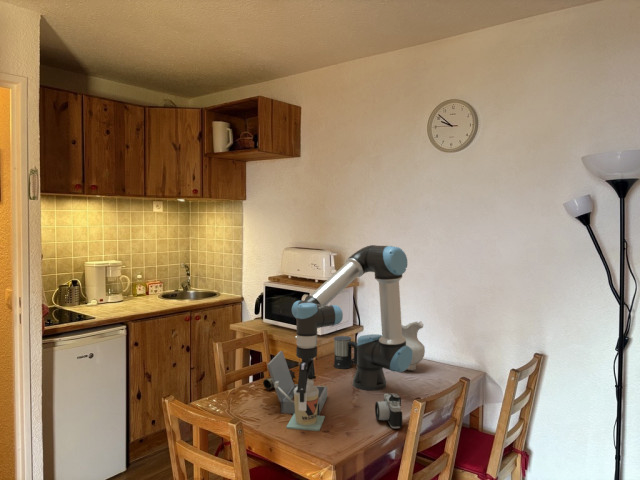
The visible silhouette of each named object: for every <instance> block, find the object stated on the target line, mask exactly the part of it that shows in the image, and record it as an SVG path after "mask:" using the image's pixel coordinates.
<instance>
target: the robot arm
mask: <svg viewBox="0 0 640 480" xmlns="http://www.w3.org/2000/svg"><path fill="white" fill-rule="evenodd" d="M407 257H408V256H407V255H406V253H405V251H404V250H403V249H402V248H400V247H398V246H393V245H375V244H374V245H373V244H372V245H371V244H370V245H367V246H365V247H362V248H360V249H359V250H357V251H355V252H354V253H352V254H351V255H350V256H349V257H348V258H347V259H346V260H345V263H344V264H343V265H342V266H341V267H340V268H339V269H338V270H336V272H334V273H333V274H332V275H331V276H330V277H329V278H327V280H325V282H323V283H322V284H321V285H320V286H319V287H318V288H316V290H314V291H313V292H312V293H311V294H310V295H309V296H307V297H306V298H305V299H304V300H296V301H295V302H293V304H292V307H291V313H292V316H293V317H294V318H295V319H296V336H295V337H294V338H295V339H296V345H297V346H296V347H295V348H296V350H295V351H296V357H297V358H298V359H301V362H300V363H299V365H298V367H299V368H298V379H297V385H298V389H297V390H296V393H299V410H300V411H306V403H307V392H306V386H307V385H312V386H315V385H314V384H315V380H316V379H317V376H316V372H315V363H314V362H315V360H314V358H316V357H318V354H317V353H318V346H317V345H318V329H319V328H326V327H330V326H331V327H332V326H335V325H336V326H337V325H339V324H341V322H342V320H343V315H344V314H343V310H342V308H341V307H340V306H339V305H337V304H334V305H333V304H330V305H328V304H329V303H330V302H332V301H333V299H335V298H336V297H337V296H338V295H339V294H340V293H341V292H342V291H344V290H345V289H346V288H347V287H348V286H349V285H350V284H351V283H352V282H353V281H355V279H356V278H361V277H362V276H363V275H364V274H367V273H374V279H375V280H376V281H377V282H378V292H379V307H380V321H381V322H380V323H381V334H377V333H376V334H374V333H373V334H364V335H360V336H359V337H358V338H357V342H356V343H357V364H356V370H355V373H354V376H353V379H352V386H353V387H354V388H356V389H358V390H361V391H367V392H368V391H369V392H370V391H371V392H374V391H375V392H377V391H380V390H385V389H386V388H387V380H386V376H385V373H384V371H383V369H385V370H389V371H391V372H396V373H403V372H405V371H407V370H406V369H407V368H408V367H409V365H410V363H411V361H412V356H413V353H412V349H411V348H410V347H409V346H406V338H405V337H404V336H402V325H403V324H402V310H401V309H402V307H401V297H400V296H401V292H400V281H401V279H403V274H405V273H406V271H407V268H408V258H407Z"/></svg>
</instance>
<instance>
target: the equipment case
mask: <svg viewBox="0 0 640 480" xmlns="http://www.w3.org/2000/svg"><path fill="white" fill-rule="evenodd" d="M266 366H267V370H268V372H269V375H270V378H272V381H273V384H274V387H273V388H274V390H275V394H277V399H278V401H279V403H280V413H281V414H289V415H291V414H292V415H293V414H295V404H294V399H293V398H294V389H295V387H297V386H298V383H297V384H294V383H295V382H294V381H293V380H294V379H293V380H292V377H291V374H290V372H289V370H290V369H289V367H288V363H287V360H286V357H285V354H284V352H283V350H280V351H278V353H277V354H276V355H275V356H274V357H273V358H271V360H270V361H269V362H268V363H267V364H266ZM315 386H316V387H317V388H318V390H319V393H318V409H317V415H319V416H320V414H321V412H322V409H323V407H324V405H325V403H326V400H327V399H328V386H323V385H315Z"/></svg>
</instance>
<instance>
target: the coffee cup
mask: <svg viewBox="0 0 640 480" xmlns="http://www.w3.org/2000/svg"><path fill="white" fill-rule="evenodd" d="M316 386H317V385H314V386H312V385H307V386H306V392H307V403H306V411H300V410H299V393H296V390H297V389H298V386H297V387H295V389H294V397H293V398H294V399H293V401H294V404H295V419H296V423H297V424H299V425H312V424H315V423H316V421H317V409H318V400H319V397H318V393H319V390H318V388H317V387H316Z"/></svg>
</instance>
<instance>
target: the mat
mask: <svg viewBox="0 0 640 480" xmlns="http://www.w3.org/2000/svg"><path fill="white" fill-rule="evenodd" d="M325 419H326V415H320V414H319V415H317V421H316V423H315V424H312V425H299V424H297V423H296V419H295V414H292V416H291V418H290V420H289V422H288V423H287V425H286V429H288V430H299V431H300V430H301V431H312V432H320V430H321V429H322V426H323V423H324V420H325Z"/></svg>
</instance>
